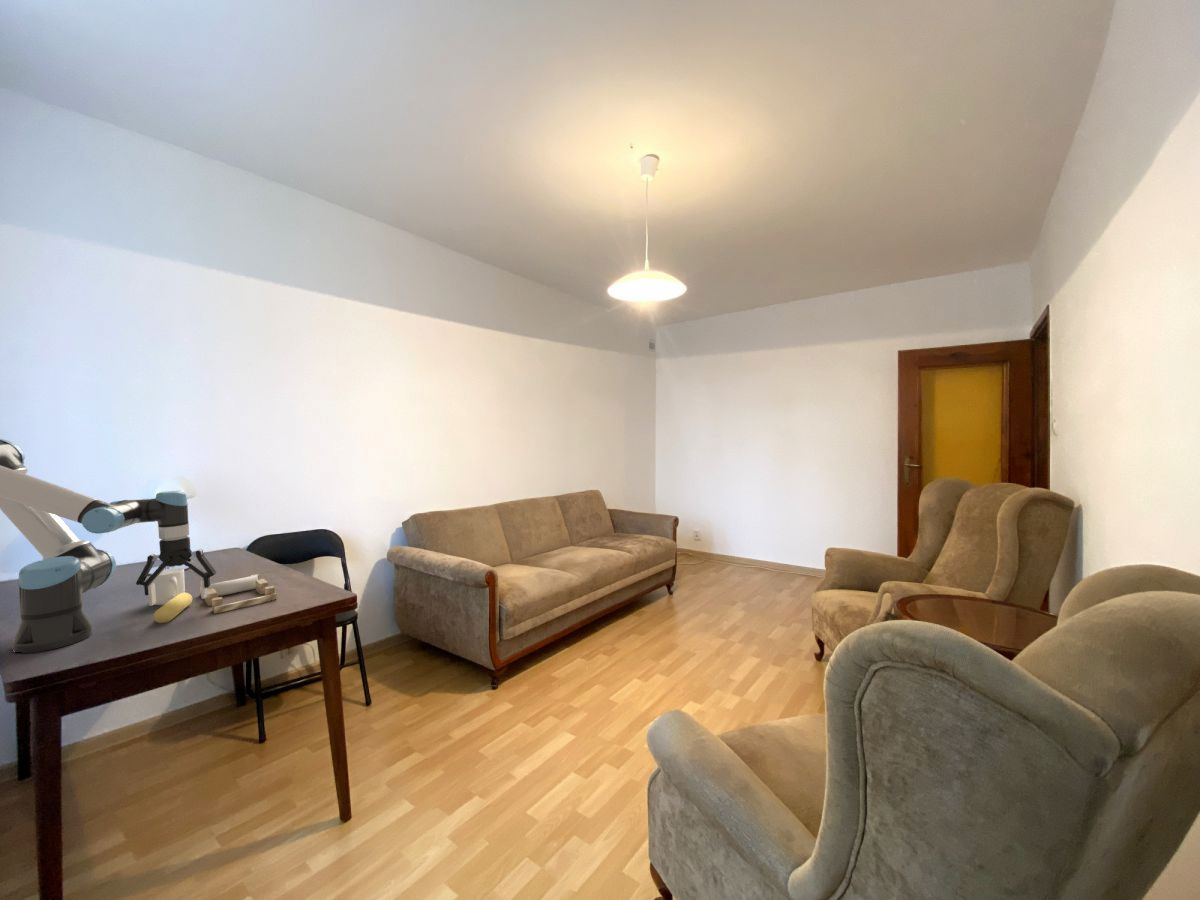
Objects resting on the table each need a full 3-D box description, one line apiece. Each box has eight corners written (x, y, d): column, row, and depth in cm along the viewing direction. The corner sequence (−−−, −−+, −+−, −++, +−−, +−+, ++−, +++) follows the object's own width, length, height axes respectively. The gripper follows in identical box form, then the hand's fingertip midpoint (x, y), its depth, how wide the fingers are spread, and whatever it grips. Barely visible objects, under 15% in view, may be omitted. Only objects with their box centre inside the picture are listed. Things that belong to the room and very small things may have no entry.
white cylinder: (209, 599, 171) (208, 585, 171) (206, 598, 174) (205, 584, 174) (259, 588, 182) (258, 575, 182) (255, 587, 185) (254, 575, 185)
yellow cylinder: (176, 618, 152) (169, 604, 151) (158, 626, 150) (150, 612, 149) (195, 602, 166) (188, 590, 165) (178, 609, 164) (171, 597, 163)
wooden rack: (214, 613, 158) (214, 601, 157) (200, 594, 176) (199, 584, 175) (276, 599, 171) (276, 588, 170) (257, 583, 189) (256, 573, 188)
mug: (160, 609, 162) (159, 578, 161) (149, 602, 168) (147, 572, 168) (192, 601, 169) (191, 571, 168) (180, 595, 175) (179, 566, 175)
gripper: (224, 531, 165) (228, 591, 166) (131, 539, 155) (136, 603, 156) (217, 535, 158) (221, 598, 159) (118, 544, 148) (124, 611, 149)
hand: (179, 600), depth 158 cm, fingers open, 13 cm apart
